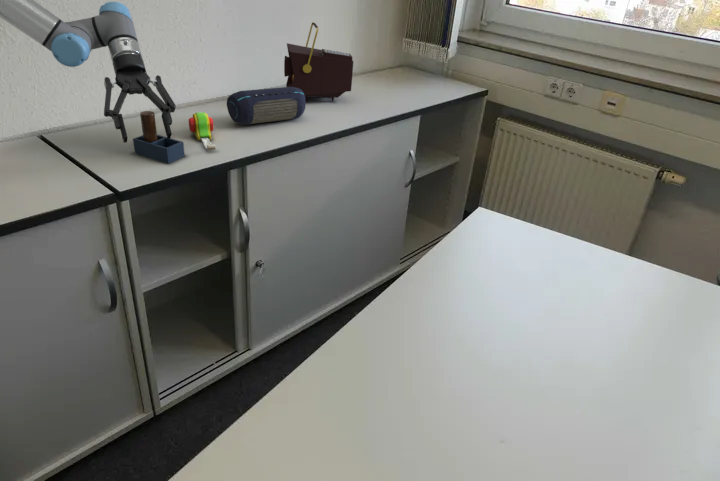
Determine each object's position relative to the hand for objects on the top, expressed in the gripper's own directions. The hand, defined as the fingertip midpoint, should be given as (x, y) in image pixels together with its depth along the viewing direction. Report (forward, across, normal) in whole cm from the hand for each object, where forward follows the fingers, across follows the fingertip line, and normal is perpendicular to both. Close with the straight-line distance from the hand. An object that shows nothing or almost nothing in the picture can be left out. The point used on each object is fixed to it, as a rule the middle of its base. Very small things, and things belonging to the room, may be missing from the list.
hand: (148, 138), depth 137 cm
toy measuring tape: (-2, +17, +9) cm, 19 cm away
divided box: (+3, +3, +5) cm, 6 cm away
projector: (-21, +66, +25) cm, 73 cm away
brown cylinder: (+1, +1, +6) cm, 6 cm away
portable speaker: (-8, +40, +14) cm, 43 cm away
